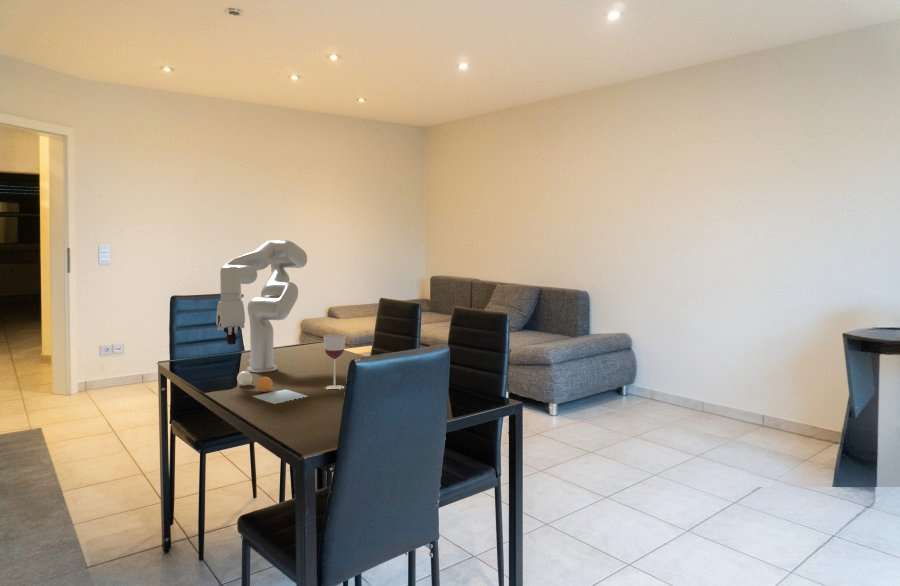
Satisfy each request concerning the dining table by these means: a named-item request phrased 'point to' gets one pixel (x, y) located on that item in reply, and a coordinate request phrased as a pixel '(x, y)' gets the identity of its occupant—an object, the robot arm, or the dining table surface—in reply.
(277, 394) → the blue mark
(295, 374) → the dining table surface
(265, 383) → the orange ball
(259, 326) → the robot arm
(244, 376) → the cue ball
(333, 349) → the wineglass
